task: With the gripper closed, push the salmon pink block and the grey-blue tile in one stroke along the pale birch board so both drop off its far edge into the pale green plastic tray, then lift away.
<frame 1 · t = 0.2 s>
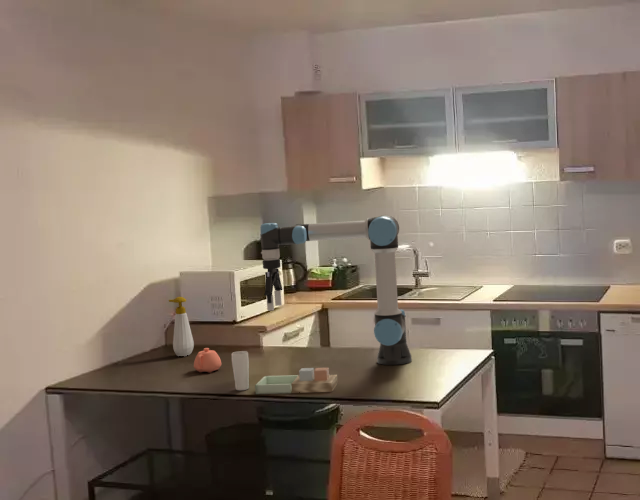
hand: (274, 308, 401), 28 cm above the table, tool pointing down, fingers open, 13 cm apart
board: (315, 387, 369), on the table
tray: (277, 388, 371), on the table
soap bottle: (182, 355, 455), on the table
salmon pink block: (322, 379, 368), point 3 cm above the table, touching board
drinking glass: (242, 389, 375), on the table
tile grey: (307, 379, 369), point 3 cm above the table, touching board
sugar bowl: (207, 371, 415), on the table
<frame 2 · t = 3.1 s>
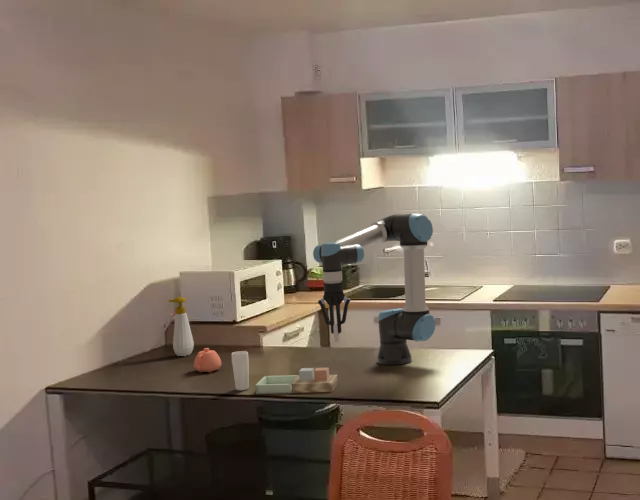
hand: (336, 341, 365), 18 cm above the table, tool pointing down, fingers closed
nothing on the table moved.
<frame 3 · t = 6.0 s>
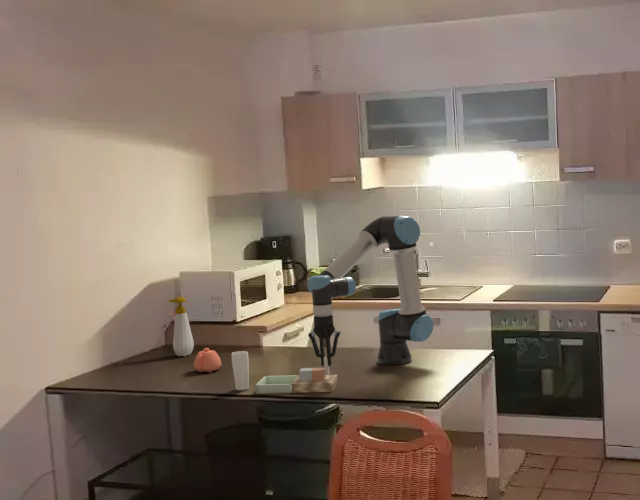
hand: (327, 374, 367), 5 cm above the table, tool pointing down, fingers closed
salmon pink block: (319, 379, 368), point 4 cm above the table, touching gripper, tile grey
tile grey: (307, 379, 369), point 4 cm above the table, touching board, salmon pink block
everything else where it was.
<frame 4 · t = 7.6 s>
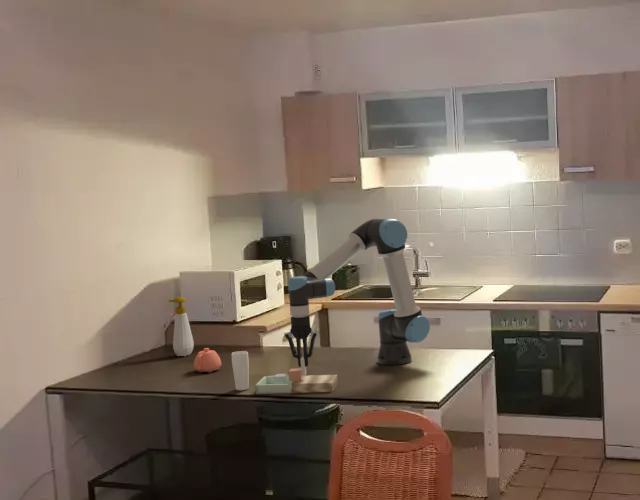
hand: (304, 374, 369), 6 cm above the table, tool pointing down, fingers closed
salmon pink block: (296, 379, 370), point 4 cm above the table, touching gripper
tile grey: (285, 381, 370), point 3 cm above the table, tilted 90°, touching tray
everything else where it was.
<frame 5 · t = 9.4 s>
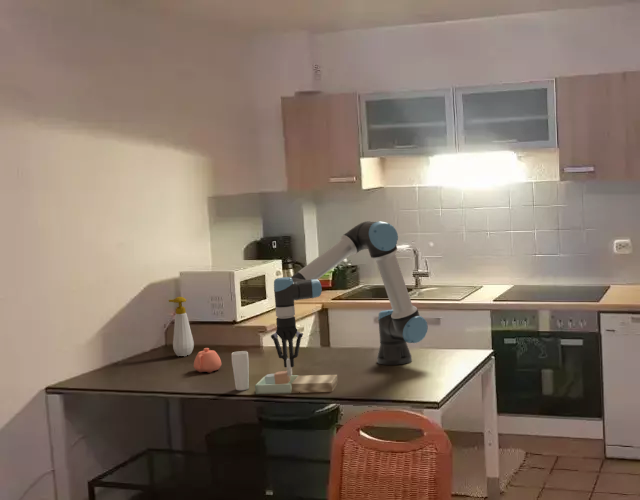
hand: (289, 375, 370), 5 cm above the table, tool pointing down, fingers closed
salmon pink block: (282, 382, 371), point 3 cm above the table, touching gripper, tile grey
tile grey: (276, 380, 371), point 3 cm above the table, tilted 94°, touching salmon pink block, tray
everything else where it was.
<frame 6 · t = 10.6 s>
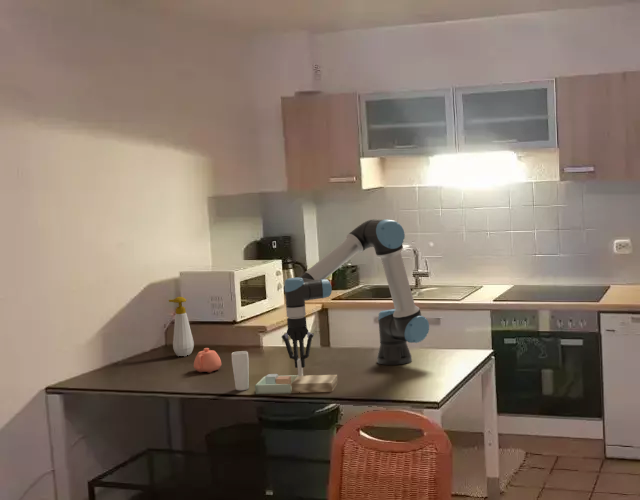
hand: (300, 375, 369), 5 cm above the table, tool pointing down, fingers closed
salmon pink block: (283, 387, 371), resting on tray
tile grey: (276, 381, 371), point 3 cm above the table, tilted 90°, touching tray
everything else where it was.
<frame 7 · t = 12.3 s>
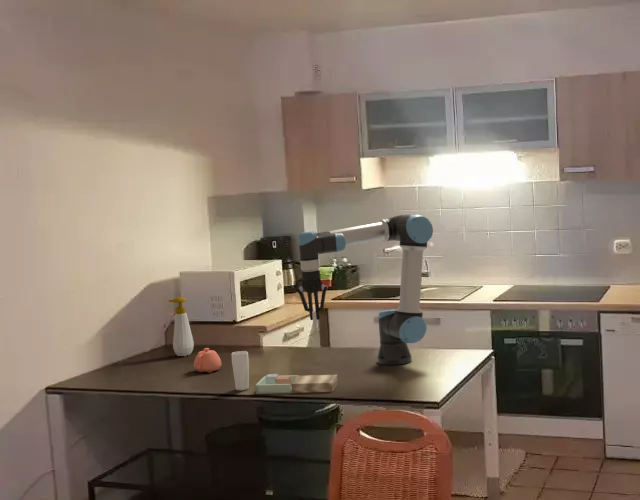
hand: (315, 327, 377), 22 cm above the table, tool pointing down, fingers closed
nothing on the table moved.
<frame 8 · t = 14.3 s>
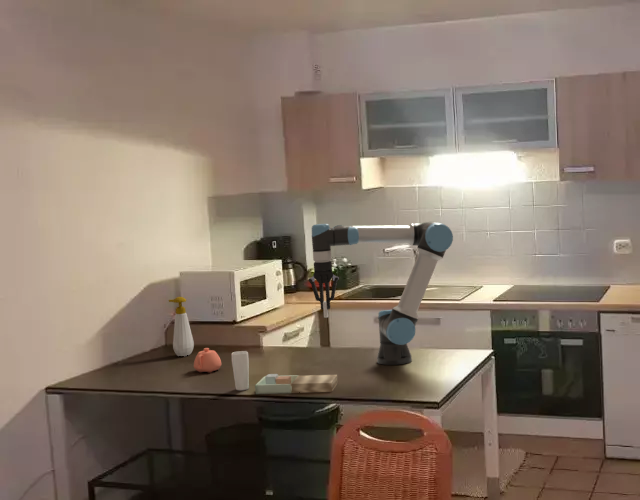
hand: (326, 317, 389), 24 cm above the table, tool pointing down, fingers closed
nothing on the table moved.
at the end: salmon pink block inside the target area (2.3 cm from its centre), point 0.5 cm above the table; tile grey inside the target area (0.3 cm from its centre), point 3.0 cm above the table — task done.
